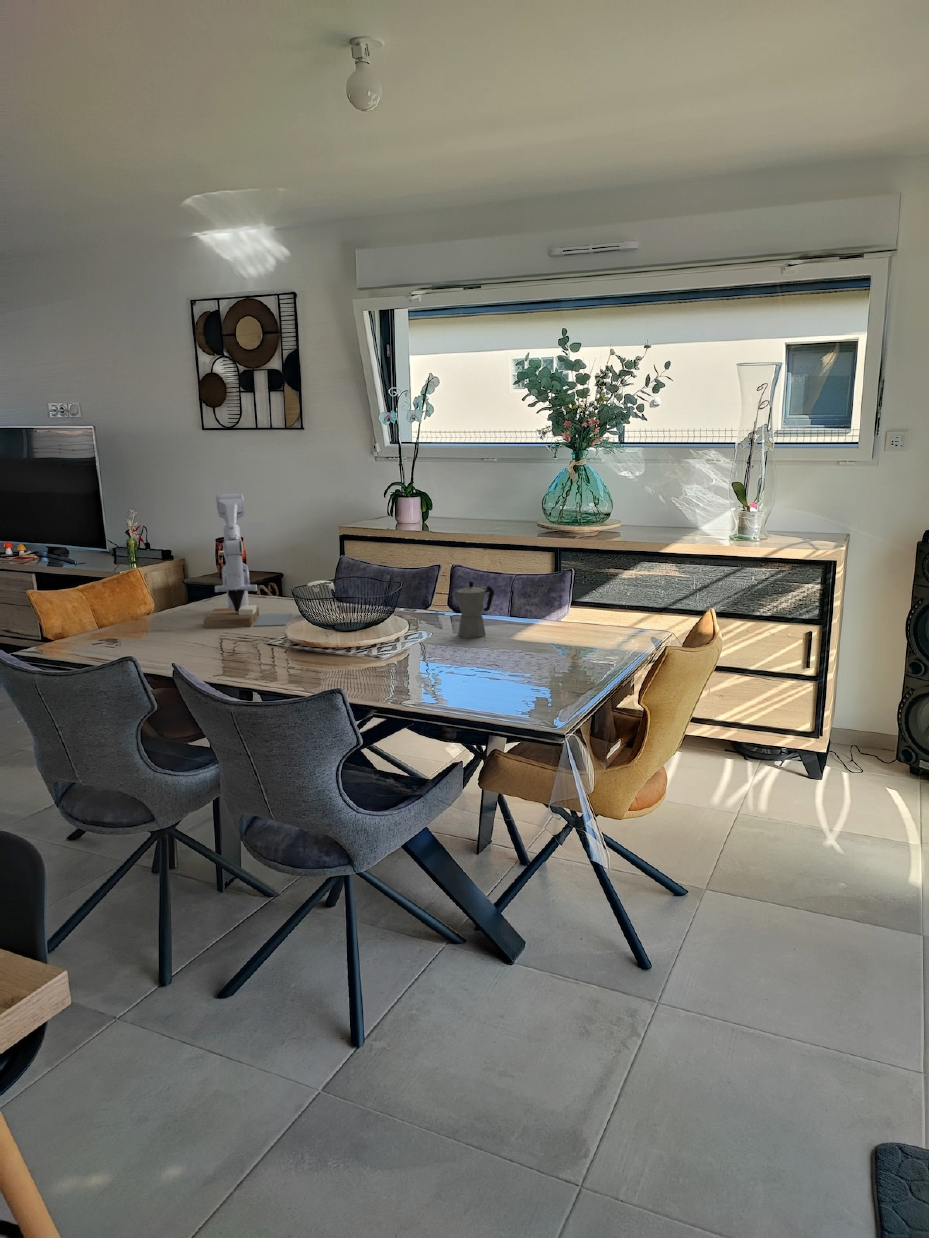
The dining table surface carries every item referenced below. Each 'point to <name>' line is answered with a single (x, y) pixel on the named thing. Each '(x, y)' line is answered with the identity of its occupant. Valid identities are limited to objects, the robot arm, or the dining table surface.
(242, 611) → the tile
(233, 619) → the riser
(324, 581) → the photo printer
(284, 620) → the mat
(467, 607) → the coffeepot
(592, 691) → the dining table surface
